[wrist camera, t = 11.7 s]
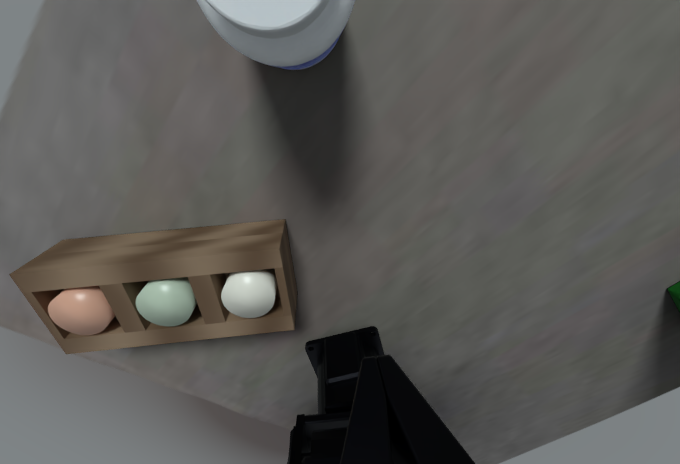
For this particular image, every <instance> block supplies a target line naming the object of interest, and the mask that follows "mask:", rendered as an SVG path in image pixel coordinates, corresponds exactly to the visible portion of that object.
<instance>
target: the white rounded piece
mask: <svg viewBox="0 0 680 464" xmlns="http://www.w3.org/2000/svg"><path fill="white" fill-rule="evenodd" d="M276 290H277V279H276V274H275V269H274V268H271V269H261V270H251V271H241V272H231V273H230V274H229V276H228V278H227V281H226V283H225V285H224V288H223V290H222V293H221V299H222V302H223V304H224V306H225V307H226V309H227V310H228V311H230V312H231V313H233V314H235V315H237V316H240V317H244V318H256V317H260V316H263V315H265V314H266V313H268V312H269V311H270V310H271V309H272V307H273V305H274V301H275V295H276Z"/></svg>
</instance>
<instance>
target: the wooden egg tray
mask: <svg viewBox="0 0 680 464" xmlns="http://www.w3.org/2000/svg"><path fill="white" fill-rule="evenodd" d="M271 268H274V269H275V274H276V279H277V290H276V295H275V301H274V305H273V307H272V309H271V310H270V311H269V312H268V313H266V314H265V315H263V316H260V317H256V318H244V317H240V316H237V315H235V314H233V313H231V312H230V311H228V310H227V309H226V307H225V306H224V304H223V302H222V299H221V293H222V290H223V288H224V285H225V283H226V281H227V278H228V276H229V274H230V273H231V272H241V271H251V270H261V269H271ZM10 276H11V278H12V279H13V281H14V282H15V283H16V285H17V286H18V288H19V289H20V290H21V292H22V293H23V295H24V296H25V297H26V299H27V300H28V302H29V303H30V304H31V306H32V307H33V309H34V310H35V311H36V313H37V314H38V316H39V317H40V318H41V320H42V321H43V323H44V324H45V325H46V327H47V328H48V330H49V331H50V332H51V334H52V335H53V337H54V338H55V339H56V341H57V342H58V344H59V345H60V346H61V348H62V349H63V351H64V352H65V353H66V354H72V353H82V352H91V351H101V350H110V349H119V348H129V347H138V346H148V345H157V344H166V343H176V342H185V341H194V340H204V339H213V338H223V337H232V336H241V335H251V334H260V333H270V332H279V331H288V330H295V318H296V305H297V286H296V280H295V274H294V268H293V262H292V257H291V251H290V245H289V239H288V233H287V227H286V221H285V219H283V220H272V221H261V222H250V223H240V224H229V225H218V226H207V227H196V228H186V229H175V230H164V231H153V232H143V233H132V234H121V235H110V236H99V237H89V238H78V239H67V240H62V241H60V242H59V243H57V244H56V245H54V246H53V247H51V248H50V249H48V250H46V251H45V252H43V253H42V254H40V255H39V256H37V257H36V258H34V259H33V260H31V261H30V262H28V263H26V264H25V265H23V266H22V267H20V268H19V269H17V270H16V271H14V272H13V273H11V274H10ZM180 277H188V279H189V282H190V285H191V287H192V290H193V293H194V295H195V298H196V301H197V304H196V306H195V308H194V310H193V312H192V314H191V316H190V318H189V319H188V320H187V321H186V322H185V323H183V324H180V325H177V326H170V327H169V326H160V325H157V324H154V323H152V322H150V321H148V320H146V319H145V318H144V317H143V316H142V315H141V314H140V313H139V311H138V310H137V307H136V298H137V296H138V294H139V293H140V292H141V290H142V289H143V288H144V287H145V285H146V284H147V283H148V282H149V281H150V280H160V279H170V278H180ZM89 286H99V287H100V289H101V290H102V292H103V294H104V296H105V298H106V299H107V301H108V303H109V305H110V307H111V309H112V310H113V312H114V314H115V317H114V318H113V319H112V321H111V322H110V323H109V324H108V326H107V327H106V328H105V329H104V330H103V331H102V332H100V333H97V334H94V335H79V334H74V333H71V332H68V331H66V330H64V329H62V328H61V327H59V326H58V325H57V324H55V323H54V322H53V320H52V319H51V317H50V316H49V313H48V306H49V303H50V302H51V301H52V300H53V299H54V298H55V297H56V296H58V295H59V294H60V293H61V292H62V291H64V290H65V289H68V288H79V287H89Z"/></svg>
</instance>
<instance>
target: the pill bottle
mask: <svg viewBox="0 0 680 464" xmlns="http://www.w3.org/2000/svg"><path fill="white" fill-rule="evenodd" d="M197 2H198V4H199V6H200V8H201V9H202V11H203V13H204V15H205V16H206V18H207V19H208V21H209V22H210V24H211V25H212V26H213V28H214V29H215V30H216V31H217V33H218V34H219V35H220V36H221V37H222V38H223V39H224V40H225V41H226V42H227V43H228V44H229V45H231V46H232V47H233V48H234V49H236V50H237V51H238V52H240V53H241V54H243V55H245V56H247V57H248V58H250V59H252V60H255V61H258V62H260V63H263V64H266V65H270V66H274V67H278V68H282V69H288V70H301V69H305V68H308V67H311V66H313V65H315V64H317V63H319V62H320V61H322V60H323V59H324V58H325V57H326V56H327V55H328V54H329V53H330V52H331V51H332V49H333V48H334V46H335V45H336V43H337V41H338V39H339V37H340V35H341V33H342V31H343V30H344V28H345V26H346V24H347V22H348V19H349V17H350V14H351V12H352V9H353V6H354V3H355V0H197Z"/></svg>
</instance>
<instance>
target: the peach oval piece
mask: <svg viewBox="0 0 680 464" xmlns="http://www.w3.org/2000/svg"><path fill="white" fill-rule="evenodd" d="M48 313H49V316H50V317H51V319H52V320H53V322H54V323H55V324H57V325H58V326H59V327H61V328H62V329H64V330H66V331H68V332H71V333H74V334H79V335H94V334H97V333H100V332H102V331H103V330H104V329H105V328H106V327H107V326H108V324H109V323H110V322H111V321H112V319H113V318H114V317H115V314H114V312H113V310H112V309H111V307H110V305H109V303H108V301H107V299H106V298H105V296H104V294H103V292H102V290H101V289H100V287H99V286H89V287H79V288H68V289H65V290H64V291H62V292H61V293H60V294H59V295H58V296H56V297H55V298H54V299H53V300H52V301H51V302H50V303H49V306H48Z"/></svg>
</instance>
